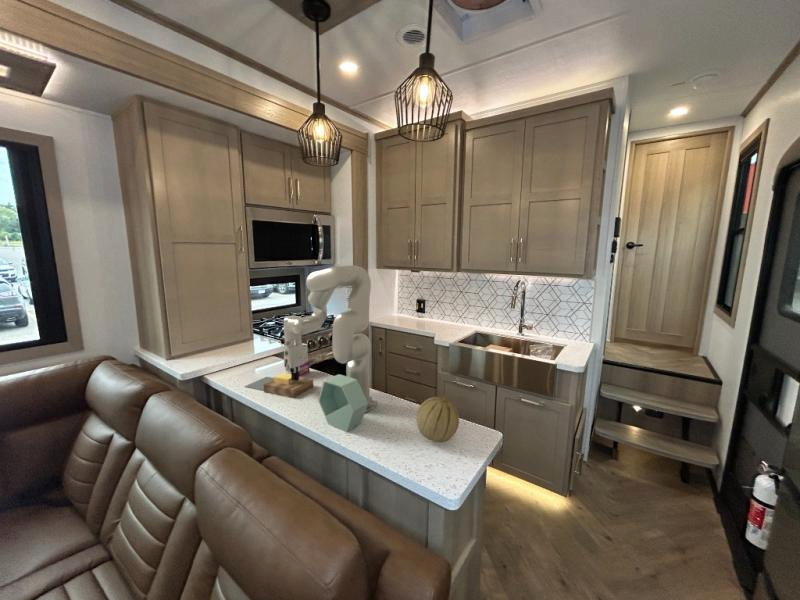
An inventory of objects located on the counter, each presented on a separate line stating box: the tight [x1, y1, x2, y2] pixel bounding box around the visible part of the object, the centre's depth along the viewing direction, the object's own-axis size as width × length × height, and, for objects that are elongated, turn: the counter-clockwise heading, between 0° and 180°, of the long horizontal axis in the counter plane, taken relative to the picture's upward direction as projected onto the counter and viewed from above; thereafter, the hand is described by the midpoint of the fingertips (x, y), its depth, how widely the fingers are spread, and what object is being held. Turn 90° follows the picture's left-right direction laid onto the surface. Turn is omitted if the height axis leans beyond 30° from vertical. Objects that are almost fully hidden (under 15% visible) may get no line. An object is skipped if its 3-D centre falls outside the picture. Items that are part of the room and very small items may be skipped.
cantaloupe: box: [415, 396, 460, 443], centre depth 113 cm, size 15×15×15 cm
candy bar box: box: [286, 343, 310, 377], centre depth 176 cm, size 11×5×16 cm, turn 143°
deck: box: [263, 376, 314, 399], centre depth 158 cm, size 18×14×4 cm
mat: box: [244, 376, 274, 392], centre depth 165 cm, size 14×14×1 cm
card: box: [273, 372, 295, 385], centre depth 158 cm, size 9×6×2 cm, turn 66°
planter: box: [317, 373, 368, 433], centre depth 124 cm, size 17×8×21 cm
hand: (295, 379), depth 156 cm, fingers closed
